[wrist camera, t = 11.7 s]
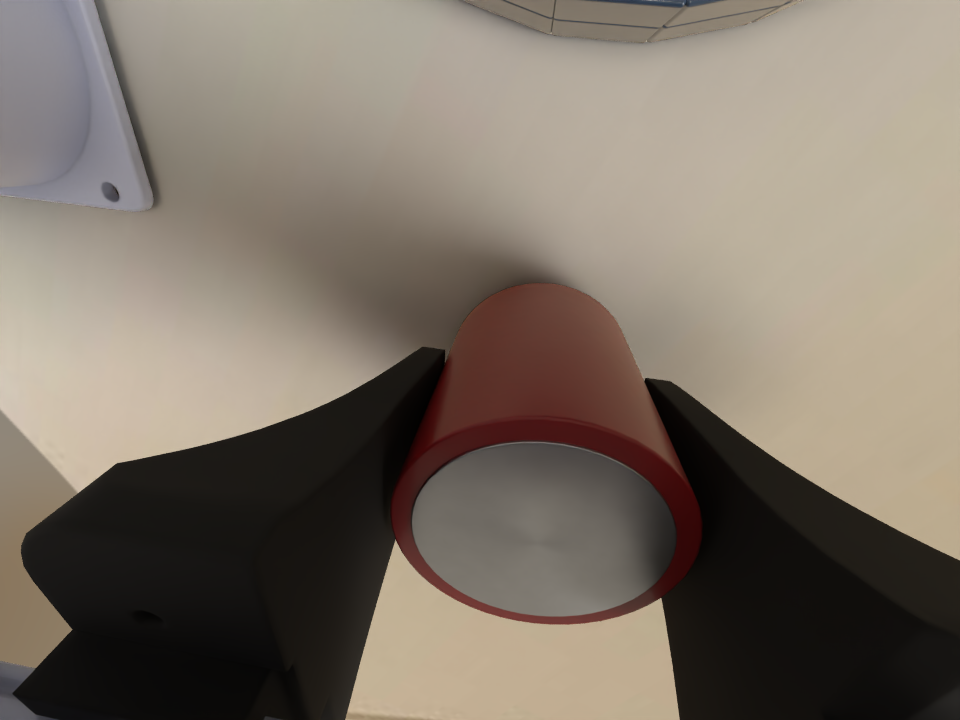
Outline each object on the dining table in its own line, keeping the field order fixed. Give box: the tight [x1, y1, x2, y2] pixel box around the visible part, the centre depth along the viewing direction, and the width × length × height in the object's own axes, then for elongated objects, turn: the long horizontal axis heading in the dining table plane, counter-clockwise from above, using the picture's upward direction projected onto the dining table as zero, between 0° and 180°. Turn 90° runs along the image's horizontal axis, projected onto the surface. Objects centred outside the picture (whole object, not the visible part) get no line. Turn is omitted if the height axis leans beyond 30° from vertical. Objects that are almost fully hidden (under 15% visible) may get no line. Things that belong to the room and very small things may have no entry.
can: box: [390, 283, 703, 624], centre depth 9 cm, size 5×5×6 cm
